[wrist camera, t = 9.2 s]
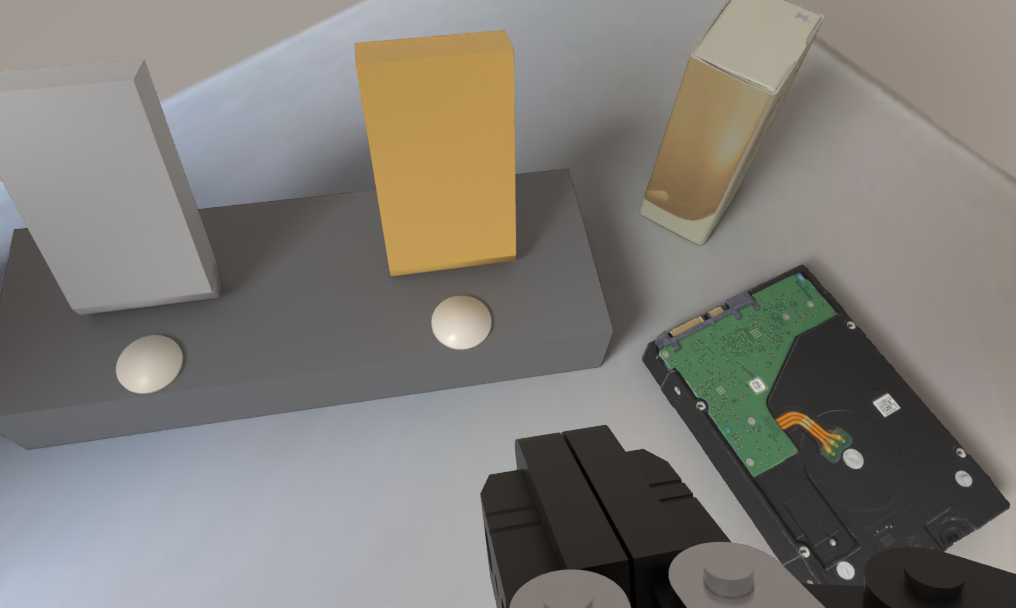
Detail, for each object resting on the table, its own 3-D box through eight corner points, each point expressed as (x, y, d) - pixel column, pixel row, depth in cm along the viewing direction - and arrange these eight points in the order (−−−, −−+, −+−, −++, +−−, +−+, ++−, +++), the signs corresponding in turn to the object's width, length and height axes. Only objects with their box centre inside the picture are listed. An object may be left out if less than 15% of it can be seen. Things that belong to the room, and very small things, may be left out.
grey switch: (80, 324, 33) (-45, 95, 26) (91, 296, 34) (-24, 73, 27) (217, 307, 33) (133, 80, 26) (223, 280, 35) (144, 58, 28)
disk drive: (979, 517, 35) (783, 284, 41) (1018, 503, 33) (803, 258, 39) (818, 630, 32) (633, 362, 38) (847, 623, 30) (645, 338, 36)
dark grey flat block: (27, 449, 34) (-27, 417, 31) (54, 272, 39) (11, 227, 35) (600, 367, 38) (613, 329, 34) (560, 213, 42) (568, 166, 39)
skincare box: (681, 149, 45) (744, -25, 35) (745, 179, 44) (830, 10, 34) (633, 217, 42) (686, 51, 32) (700, 252, 41) (778, 92, 31)
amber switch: (392, 285, 34) (355, 64, 27) (389, 259, 36) (354, 43, 28) (516, 269, 35) (513, 49, 28) (508, 245, 36) (504, 30, 29)
